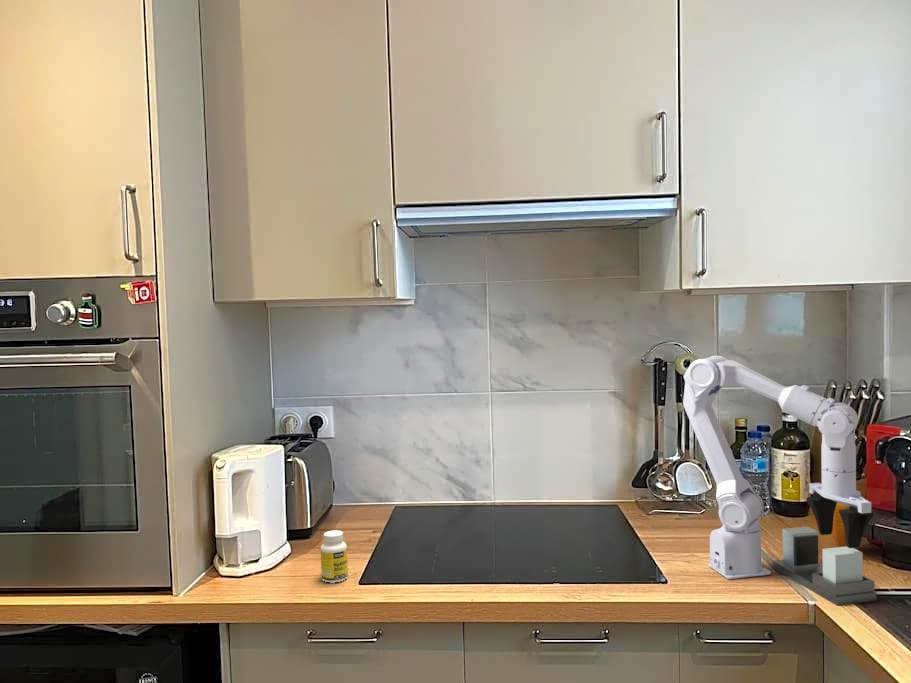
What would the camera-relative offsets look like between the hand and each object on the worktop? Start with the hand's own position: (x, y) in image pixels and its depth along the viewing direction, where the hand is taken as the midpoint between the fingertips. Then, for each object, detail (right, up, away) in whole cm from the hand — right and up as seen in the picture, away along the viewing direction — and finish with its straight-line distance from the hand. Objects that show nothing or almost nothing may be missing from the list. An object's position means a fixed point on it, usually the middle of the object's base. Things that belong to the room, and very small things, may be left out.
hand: (839, 540), depth 136 cm
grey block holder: (-2, -9, +4) cm, 10 cm away
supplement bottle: (-97, -13, +16) cm, 99 cm away
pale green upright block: (-1, -8, -2) cm, 8 cm away
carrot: (+11, -8, +20) cm, 24 cm away
